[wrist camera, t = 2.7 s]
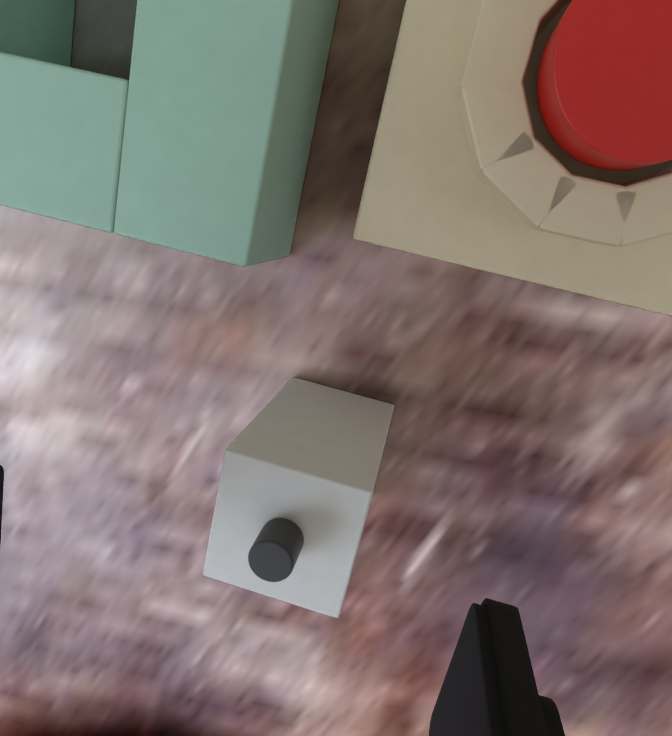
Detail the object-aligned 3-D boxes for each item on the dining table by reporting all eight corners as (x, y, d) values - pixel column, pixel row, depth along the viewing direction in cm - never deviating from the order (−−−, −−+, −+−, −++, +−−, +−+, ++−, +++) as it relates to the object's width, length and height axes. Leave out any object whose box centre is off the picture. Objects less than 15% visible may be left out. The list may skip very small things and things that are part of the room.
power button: (762, -8, 11) (821, -50, 9) (686, 187, 12) (727, 182, 10) (570, -42, 11) (593, -88, 9) (513, 150, 12) (525, 139, 10)
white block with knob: (395, 404, 18) (367, 516, 11) (369, 497, 19) (330, 651, 12) (292, 376, 18) (206, 468, 11) (273, 468, 19) (183, 603, 12)
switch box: (874, -55, 13) (1056, -170, 9) (712, 320, 15) (800, 354, 12) (446, -125, 14) (448, -254, 10) (363, 236, 17) (339, 241, 13)
